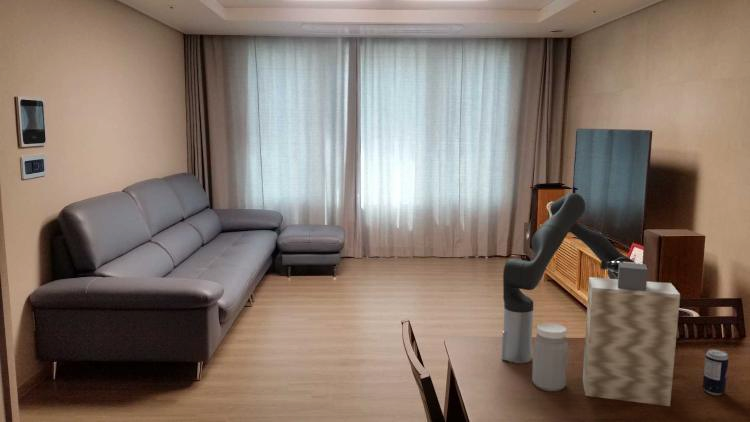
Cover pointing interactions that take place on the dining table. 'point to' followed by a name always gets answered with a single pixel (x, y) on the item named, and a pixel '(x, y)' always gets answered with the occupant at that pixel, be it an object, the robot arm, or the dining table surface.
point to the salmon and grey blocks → (632, 276)
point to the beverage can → (715, 371)
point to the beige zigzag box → (630, 341)
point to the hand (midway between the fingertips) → (624, 266)
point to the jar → (550, 357)
